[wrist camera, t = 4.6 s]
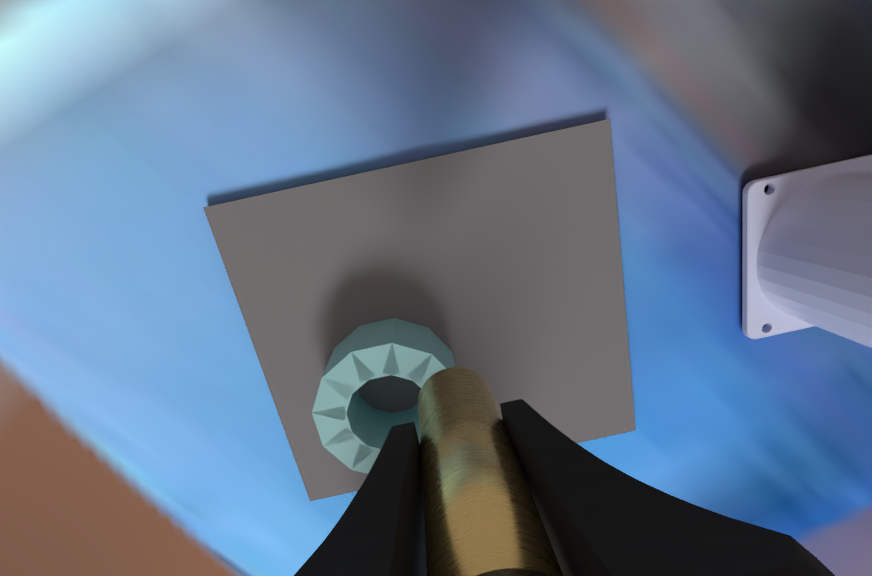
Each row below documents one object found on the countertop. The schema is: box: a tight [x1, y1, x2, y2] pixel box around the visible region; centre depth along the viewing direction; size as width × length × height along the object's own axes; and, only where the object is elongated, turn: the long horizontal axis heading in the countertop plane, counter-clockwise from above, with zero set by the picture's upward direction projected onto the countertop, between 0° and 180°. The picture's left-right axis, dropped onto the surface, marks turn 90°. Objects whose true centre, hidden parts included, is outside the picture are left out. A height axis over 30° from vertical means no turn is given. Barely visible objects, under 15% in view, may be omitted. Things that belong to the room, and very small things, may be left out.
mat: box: [203, 119, 636, 501], centre depth 21 cm, size 18×16×1 cm
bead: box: [312, 318, 455, 474], centre depth 20 cm, size 6×6×3 cm
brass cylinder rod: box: [418, 367, 563, 576], centre depth 10 cm, size 2×2×8 cm
